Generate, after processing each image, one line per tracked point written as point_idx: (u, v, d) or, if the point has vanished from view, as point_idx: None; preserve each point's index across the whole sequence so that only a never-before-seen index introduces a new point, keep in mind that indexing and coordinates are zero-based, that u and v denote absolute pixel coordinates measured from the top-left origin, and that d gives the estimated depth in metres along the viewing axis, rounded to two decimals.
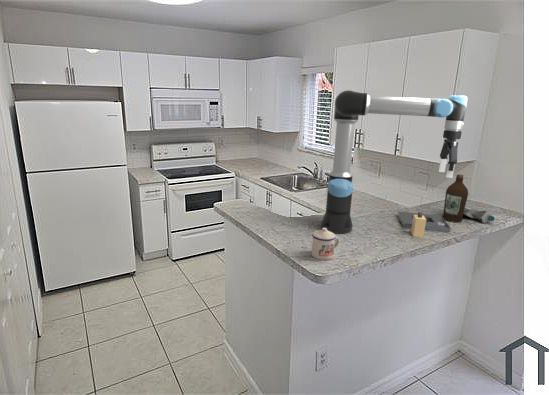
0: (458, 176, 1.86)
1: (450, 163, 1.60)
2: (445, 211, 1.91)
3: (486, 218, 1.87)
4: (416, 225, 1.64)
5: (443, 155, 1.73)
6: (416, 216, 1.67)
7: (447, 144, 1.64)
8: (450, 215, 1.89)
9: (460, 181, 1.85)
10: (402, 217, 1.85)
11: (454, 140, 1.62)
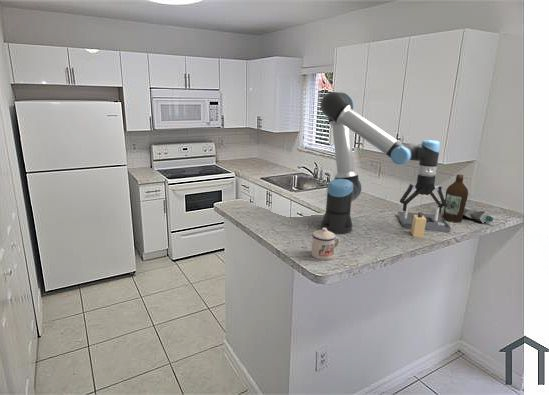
0: (458, 176, 1.86)
1: None
2: (445, 211, 1.91)
3: (484, 218, 1.86)
4: (416, 225, 1.64)
5: (436, 202, 1.63)
6: (416, 216, 1.66)
7: None
8: (450, 215, 1.89)
9: (460, 181, 1.85)
10: (402, 217, 1.85)
11: (417, 183, 1.62)
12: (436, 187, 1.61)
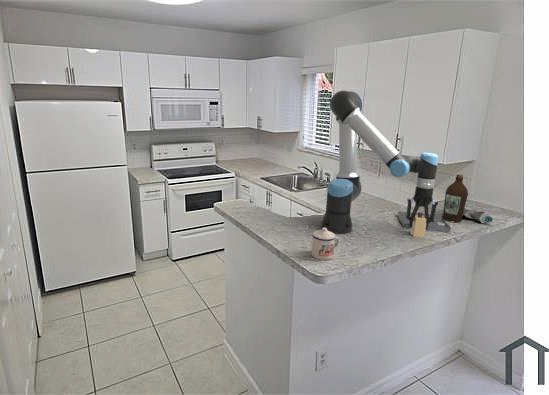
0: (458, 176, 1.85)
1: None
2: (445, 211, 1.91)
3: (484, 219, 1.86)
4: (416, 225, 1.64)
5: (425, 216, 1.66)
6: (416, 216, 1.66)
7: None
8: (449, 215, 1.89)
9: (460, 181, 1.85)
10: (402, 217, 1.85)
11: None
12: (433, 201, 1.63)
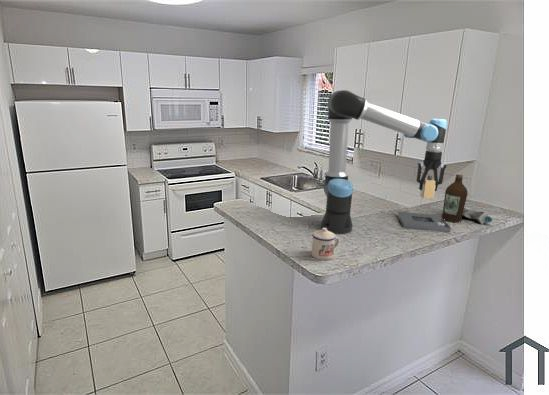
0: (457, 176, 1.85)
1: None
2: (444, 211, 1.91)
3: (483, 219, 1.86)
4: (426, 187, 1.76)
5: (434, 179, 1.78)
6: (426, 179, 1.78)
7: None
8: (448, 215, 1.89)
9: (459, 181, 1.85)
10: (402, 217, 1.85)
11: None
12: (442, 164, 1.74)
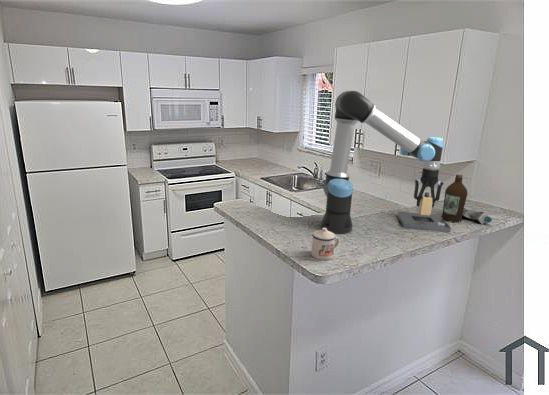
0: (457, 176, 1.85)
1: None
2: (444, 211, 1.91)
3: (483, 219, 1.85)
4: (423, 204, 1.79)
5: (431, 196, 1.81)
6: (423, 196, 1.81)
7: None
8: (448, 215, 1.88)
9: (459, 181, 1.85)
10: (402, 217, 1.85)
11: None
12: (439, 181, 1.77)
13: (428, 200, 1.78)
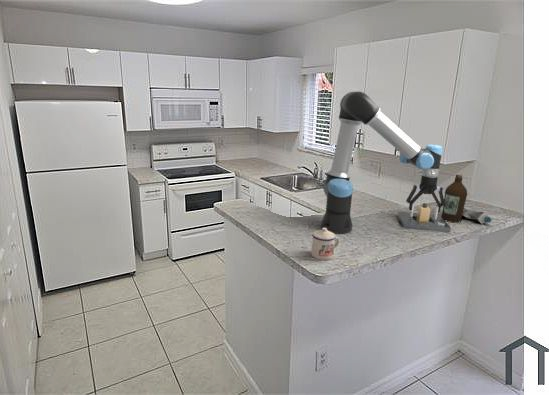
0: (457, 176, 1.85)
1: None
2: (444, 211, 1.91)
3: (483, 219, 1.85)
4: (421, 214, 1.80)
5: (436, 201, 1.81)
6: (421, 206, 1.83)
7: None
8: (448, 215, 1.88)
9: (459, 181, 1.85)
10: (402, 217, 1.85)
11: (420, 184, 1.79)
12: (438, 188, 1.78)
13: (426, 211, 1.79)
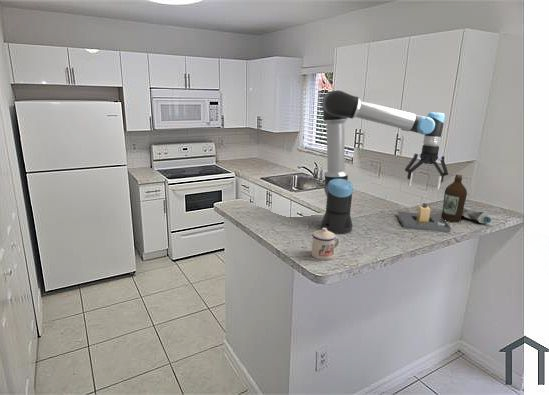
0: (456, 176, 1.85)
1: (408, 172, 1.78)
2: (443, 211, 1.91)
3: (482, 219, 1.85)
4: (421, 214, 1.80)
5: (438, 171, 1.76)
6: (421, 206, 1.83)
7: None
8: (447, 215, 1.88)
9: (458, 181, 1.85)
10: (402, 217, 1.85)
11: (421, 153, 1.74)
12: (439, 157, 1.73)
13: (426, 211, 1.79)
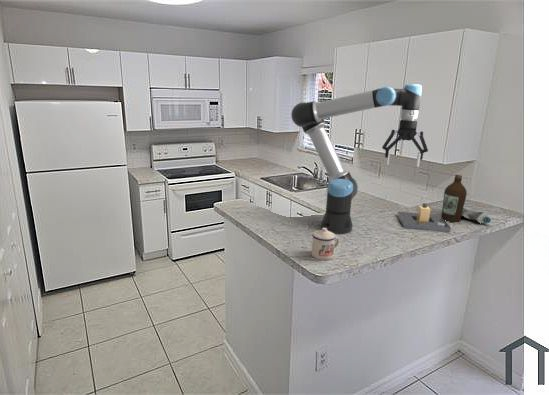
0: (456, 176, 1.85)
1: (386, 149, 1.67)
2: (443, 211, 1.91)
3: (482, 219, 1.85)
4: (421, 214, 1.80)
5: None
6: (421, 206, 1.83)
7: None
8: (447, 215, 1.88)
9: (458, 181, 1.85)
10: (402, 217, 1.85)
11: (399, 129, 1.63)
12: (418, 132, 1.62)
13: (426, 211, 1.79)
